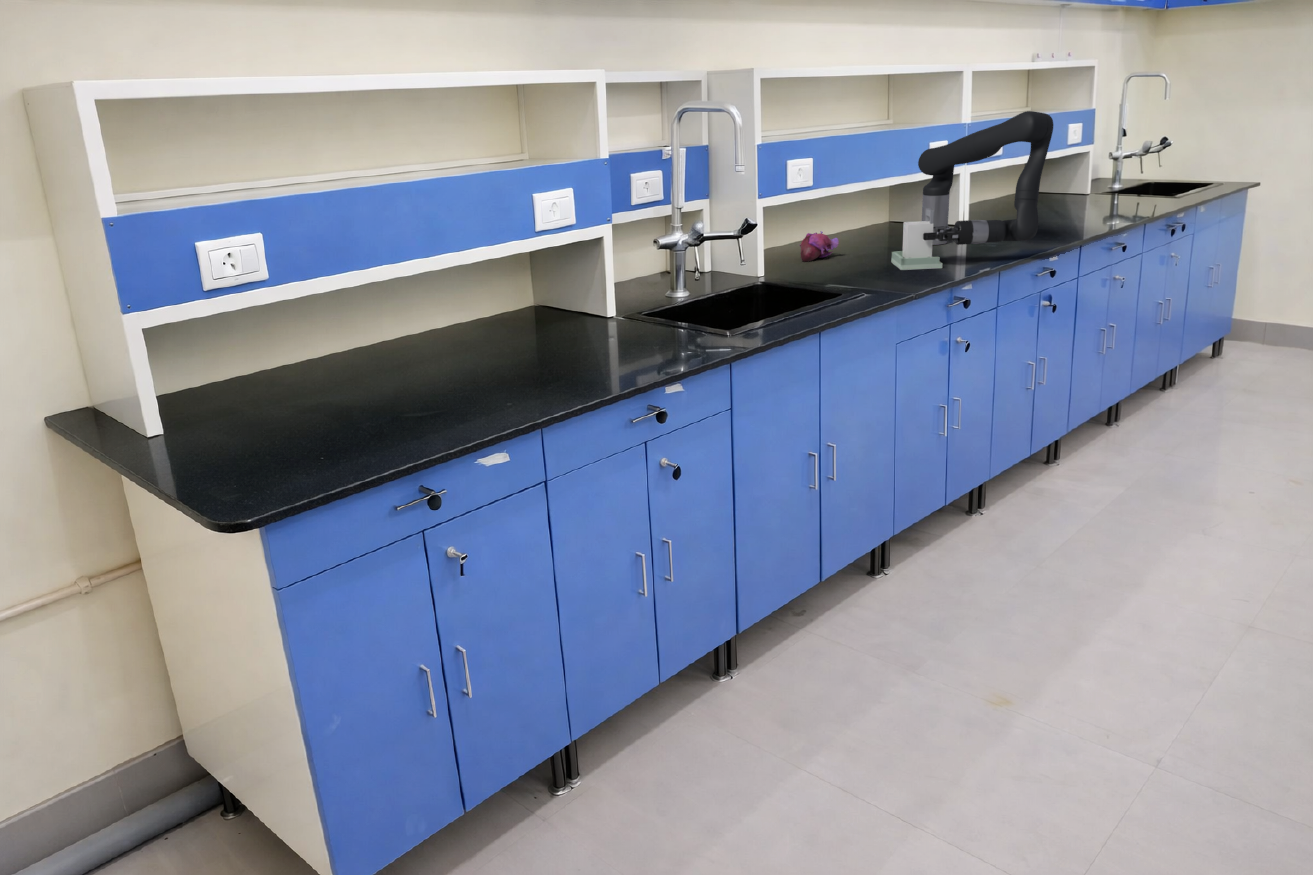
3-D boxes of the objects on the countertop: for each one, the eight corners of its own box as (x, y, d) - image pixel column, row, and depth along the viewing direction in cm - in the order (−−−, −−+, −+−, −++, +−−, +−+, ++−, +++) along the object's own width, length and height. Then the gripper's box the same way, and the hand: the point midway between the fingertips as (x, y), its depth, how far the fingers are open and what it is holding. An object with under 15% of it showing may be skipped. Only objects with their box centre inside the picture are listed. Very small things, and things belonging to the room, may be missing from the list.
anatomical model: (805, 262, 329) (846, 251, 331) (798, 234, 328) (839, 224, 330) (794, 266, 341) (834, 255, 343) (787, 239, 339) (827, 229, 342)
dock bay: (891, 262, 323) (891, 251, 322) (930, 260, 323) (931, 249, 322) (901, 270, 310) (901, 259, 309) (942, 268, 310) (942, 257, 309)
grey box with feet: (902, 259, 319) (903, 209, 314) (926, 258, 319) (929, 208, 314) (906, 262, 313) (908, 212, 308) (931, 261, 313) (934, 210, 308)
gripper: (965, 217, 318) (915, 219, 319) (978, 223, 305) (926, 226, 305) (964, 240, 321) (914, 242, 321) (976, 247, 307) (925, 250, 308)
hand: (920, 234), depth 313 cm, fingers open, 8 cm apart
